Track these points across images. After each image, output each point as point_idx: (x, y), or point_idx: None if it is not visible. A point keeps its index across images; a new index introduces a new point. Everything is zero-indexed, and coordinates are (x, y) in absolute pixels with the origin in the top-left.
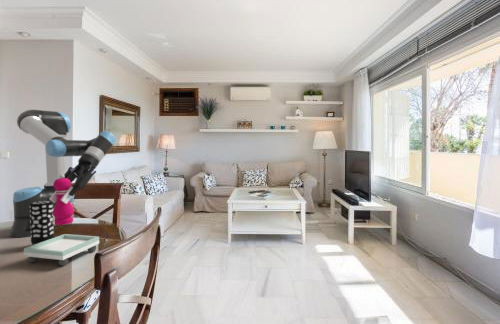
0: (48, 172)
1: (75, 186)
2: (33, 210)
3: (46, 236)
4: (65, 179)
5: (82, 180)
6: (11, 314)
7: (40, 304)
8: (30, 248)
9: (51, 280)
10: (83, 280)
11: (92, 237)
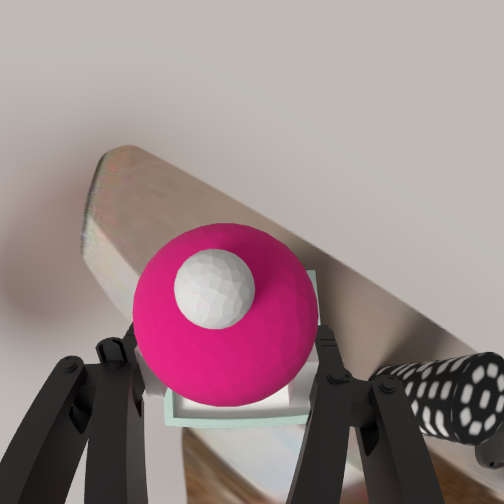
0: None
1: (105, 359)
2: (461, 358)
3: None
4: (150, 292)
5: (38, 404)
6: (131, 150)
7: (110, 175)
8: None
9: (152, 233)
10: (91, 250)
11: (186, 418)
